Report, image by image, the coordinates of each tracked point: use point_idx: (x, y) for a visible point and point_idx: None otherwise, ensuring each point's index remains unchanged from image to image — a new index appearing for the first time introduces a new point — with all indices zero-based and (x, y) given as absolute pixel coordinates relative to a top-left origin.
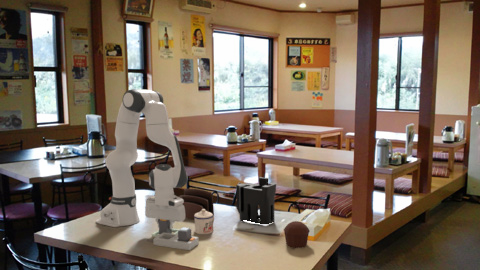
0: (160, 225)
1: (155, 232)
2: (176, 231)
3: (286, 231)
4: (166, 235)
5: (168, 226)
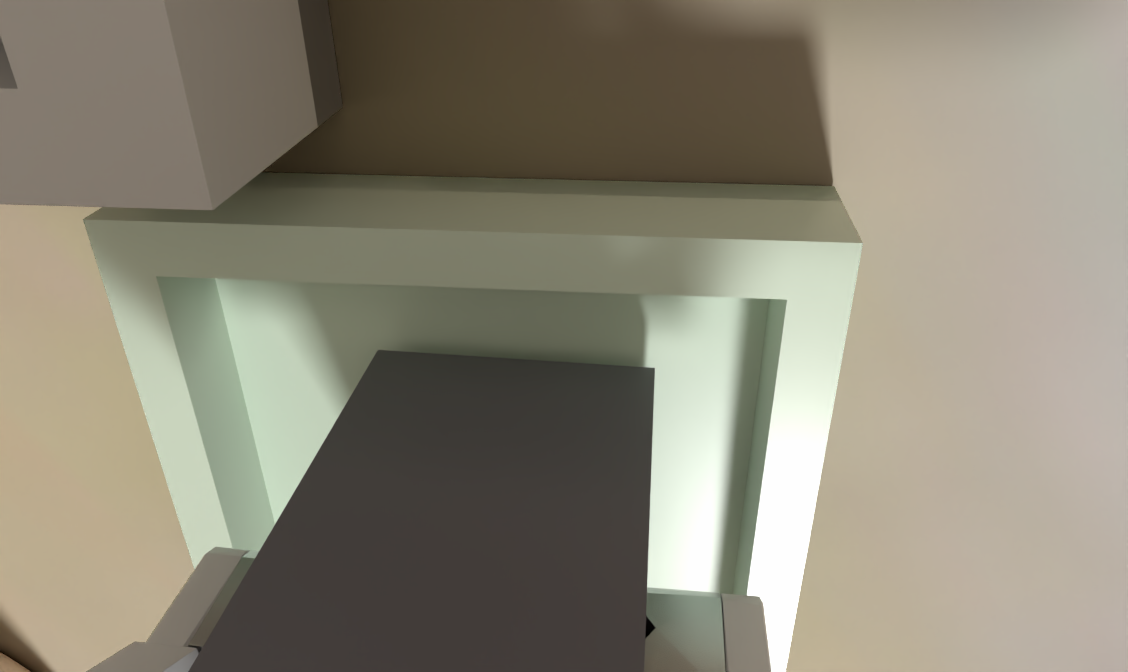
0: (560, 610)
1: (804, 414)
2: None
3: None
4: (9, 73)
5: None
